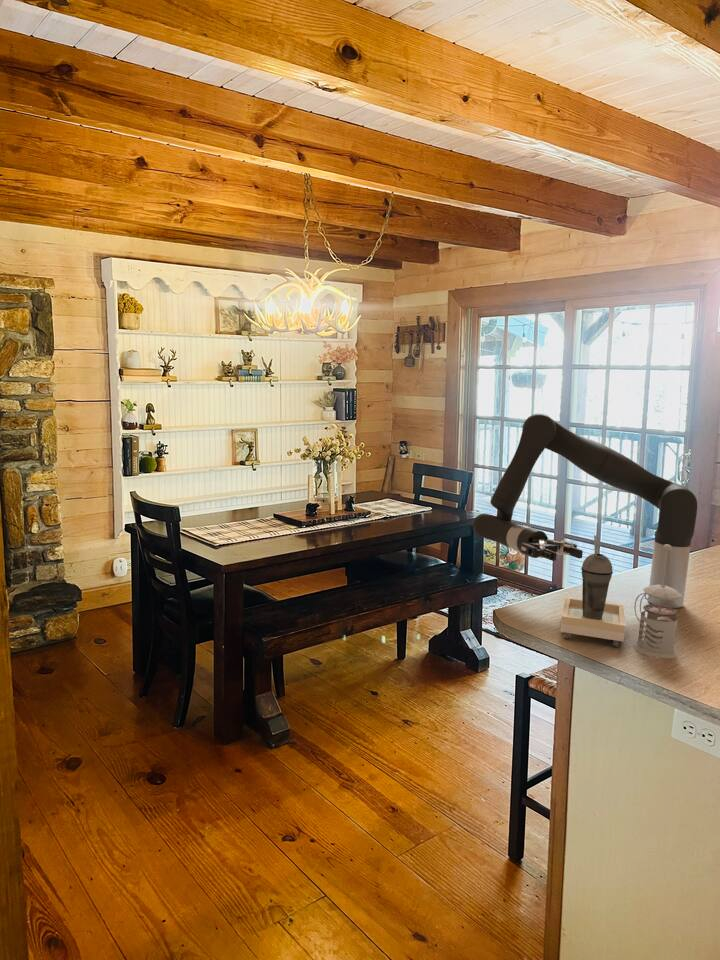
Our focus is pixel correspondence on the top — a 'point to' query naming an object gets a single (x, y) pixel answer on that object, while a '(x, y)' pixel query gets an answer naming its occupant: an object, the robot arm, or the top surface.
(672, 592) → the french press
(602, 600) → the beverage cup
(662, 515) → the robot arm
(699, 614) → the top surface
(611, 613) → the caster cart
